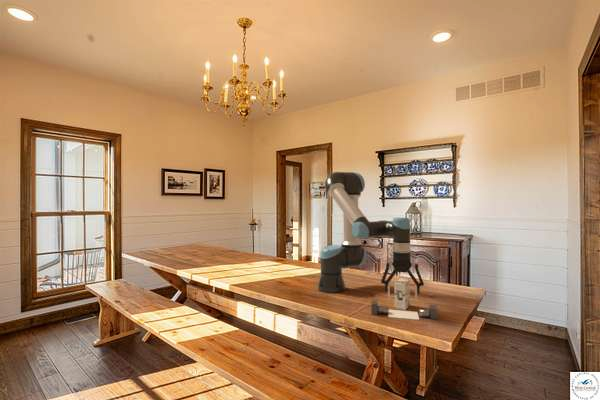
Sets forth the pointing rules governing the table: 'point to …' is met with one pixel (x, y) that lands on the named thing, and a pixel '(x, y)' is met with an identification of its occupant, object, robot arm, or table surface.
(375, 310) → the shaft stub
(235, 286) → the table surface
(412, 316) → the pad
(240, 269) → the table surface
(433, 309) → the shaft stub
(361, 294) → the table surface
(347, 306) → the table surface
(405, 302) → the ink box
